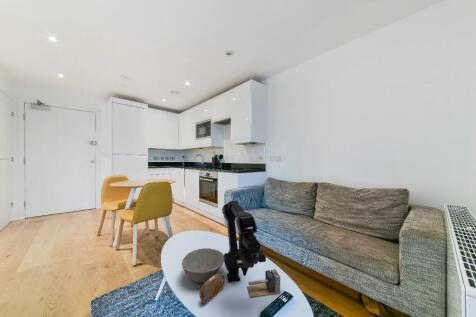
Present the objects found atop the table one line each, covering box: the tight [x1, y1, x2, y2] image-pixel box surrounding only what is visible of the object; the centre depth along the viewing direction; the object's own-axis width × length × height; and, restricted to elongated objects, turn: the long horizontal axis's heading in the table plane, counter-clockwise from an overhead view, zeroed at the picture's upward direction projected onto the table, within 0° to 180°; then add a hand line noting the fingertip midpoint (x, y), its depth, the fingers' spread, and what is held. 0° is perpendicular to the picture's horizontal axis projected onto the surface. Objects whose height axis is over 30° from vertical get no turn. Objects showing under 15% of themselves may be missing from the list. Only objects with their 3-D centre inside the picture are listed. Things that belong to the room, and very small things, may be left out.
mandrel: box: [246, 269, 281, 299], centre depth 92 cm, size 7×15×8 cm, turn 102°
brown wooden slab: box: [199, 272, 226, 304], centre depth 88 cm, size 15×3×8 cm, turn 144°
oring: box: [264, 269, 275, 292], centre depth 92 cm, size 6×2×6 cm, turn 12°
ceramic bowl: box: [181, 247, 225, 284], centre depth 101 cm, size 22×23×10 cm
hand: (244, 275), depth 85 cm, fingers closed
